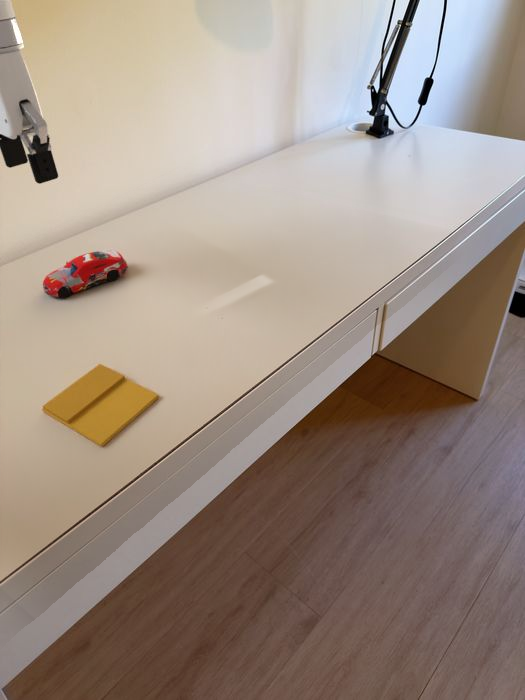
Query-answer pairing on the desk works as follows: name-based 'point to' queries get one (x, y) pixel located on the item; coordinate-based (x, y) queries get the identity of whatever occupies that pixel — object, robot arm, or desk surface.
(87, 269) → the race car
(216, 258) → the desk surface
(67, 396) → the rag
